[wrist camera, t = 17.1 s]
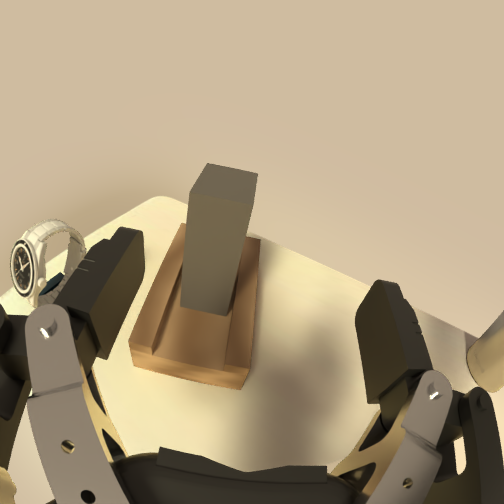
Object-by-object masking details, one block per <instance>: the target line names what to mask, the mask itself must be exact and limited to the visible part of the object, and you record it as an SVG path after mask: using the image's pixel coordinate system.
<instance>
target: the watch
mask: <svg viewBox="0 0 504 504" xmlns="http://www.w3.org/2000/svg"><path fill="white" fill-rule="evenodd" d="M64 231H66V232H69V234H70V236H71V237H70V243H69V245H68V255H67V260H66V265H65V269H64V273H65V276H64V275H63V274H62V273H61V272H60V273H58V274H57V275H56V276H54V277H53V278H52V279H50V280H49V281H48V282H46V280H45V278H46V268H45V259H44V255H45V251H46V247H47V244H46V243H45V242H44V241H45V240H47V239H48V238H49V236H50V237H51V236H52V235H54V234H56V233H59V232H64ZM86 250H87V249H86V248H85V244H84V240H83V238H82V236H81V235H80V233H79V232H78V231H76V230H75V229H73V228H72V227H70V226H69V225H67V224H66V223H64V222H63V221H60V220H57V219H48V220H45V221H41V222H39V223H38V224H37V225H34V226H33V227H32V228H30V229H29V230H27V231H26V232H25V233H24V235H23V236H22V238H21V239H19V240H17V241H16V242H15V244H14V246H13V249H12V252H11V260H10V270H11V276H12V281H13V284H14V287H15V289H16V291H17V292H18V294H19V295H20V296H21V297H23V298H26V299H27V301H28V302H29V303H30V304H31V305H32V306H33V307H34V308H38V307H40V306H42V305H46V304H52V303H53V302H54V301H55V299H56V297H57V296H58V294H59V293H60V291H61V290H62V288H63V287H64V285H65V284H66V282H67V281H68V279H69V278H70V276H71V275H72V273H73V272H74V271H75V269H77V266H78V265H79V264H80V262H81V261H82V260H84V257H85V255H86Z"/></svg>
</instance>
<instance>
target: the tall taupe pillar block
mask: <svg viewBox="0 0 504 504" xmlns="http://www.w3.org/2000/svg"><path fill="white" fill-rule="evenodd" d="M257 176H258V174H257V173H253V172H248V171H243V170H239V169H234V168H229V167H225V166H220V165H215V164H209V163H207V165H206V166H205V168H204V169H203V171H202V173H201V174H200V176H199V178H198V179H197V181H196V182H195V184H194V186H193V187H192V189H191V191H190V194H189V203H188V212H187V221H186V232H185V242H184V254H183V267H182V281H181V297H180V307H184V308H189V309H193V310H198V311H202V312H207V313H211V314H216V315H221V316H227V312H228V308H229V303H230V299H231V295H232V291H233V287H234V282H235V278H236V274H237V270H238V266H239V262H240V258H241V253H242V249H243V245H244V241H245V237H246V233H247V229H248V225H249V220H250V217H251V212H252V209H253V204H254V197H255V190H256V183H257Z"/></svg>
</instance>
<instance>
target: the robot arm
mask: <svg viewBox="0 0 504 504" xmlns="http://www.w3.org/2000/svg"><path fill="white" fill-rule="evenodd" d="M144 272H145V258H144V238H143V232H142V231H140V230H136V229H131V228H126V227H119V228H118V229H117V231H116V232H115V234H114V235H113V236H112V238H111V239H110V240H108V239H103V240H101V241H100V242H98V243H97V244H95V245H94V246H92V247H91V248H90V250H89V251H88V253H87V254H86V255H85V257H84V260H82V261H81V262H80V264H79V265H78V266H77V269H75V271H74V272H73V273H72V275H71V276H70V278H69V279H68V281H67V282H66V284H65V285H64V287H63V288H62V290H61V291H60V293H59V294H58V296H57V297H56V299H55V301H54V302H53V303H52V304H46V305H42V306H40V307H38V308H36V309H35V310H34V311H33V312H31V314H30V315H29V316H25V315H7V314H6V312H5V310H4V308H3V307H2V305H1V304H0V504H15V501H14V495H15V494H16V486H15V484H14V482H12V479H11V477H10V475H9V474H8V472H7V470H8V465H9V461H10V457H11V452H12V448H13V445H14V441H15V437H16V434H17V430H18V427H19V424H20V420H21V417H22V414H23V411H24V408H25V405H26V402H27V409H28V415H29V419H30V423H31V427H32V432H33V435H34V439H35V443H36V446H37V450H38V453H39V456H40V459H41V462H42V465H43V468H44V471H45V474H46V477H47V480H48V482H49V485H50V487H51V490H52V492H53V495H54V497H55V499H54V500H52V501H50V502H48V503H46V504H504V465H503V457H502V449H501V443H500V437H499V431H498V426H497V421H496V417H495V412H494V407H493V403H492V400H491V397H490V396H489V394H488V393H487V391H488V392H492V393H493V392H497V391H498V390H499V389H501V388H502V387H503V386H504V311H503V312H502V313H501V315H500V316H499V317H498V318H497V319H496V320H495V322H494V323H493V324H492V325H491V326H490V327H489V329H488V330H487V331H486V332H485V333H484V334H483V335H482V336H481V337H480V338H479V339H478V340H477V341H476V342H475V343H474V344H473V345H472V346H471V347H470V349H469V350H468V354H467V361H468V366H469V369H470V372H471V374H472V376H473V378H474V379H475V381H476V382H477V383H478V385H479V386H480V387H475V388H473V389H472V390H471V391H469V392H468V393H467V394H464V393H461V392H458V391H455V390H452V387H451V385H450V383H449V381H448V379H447V378H446V377H445V376H444V375H443V374H442V373H440V372H438V371H435V370H433V367H432V363H431V360H430V356H429V353H428V350H427V347H426V344H425V340H424V337H423V335H421V333H422V331H421V328H420V326H419V325H418V320H417V317H416V314H415V312H414V310H413V308H412V307H411V306H410V304H409V303H408V301H407V300H406V299H404V298H403V295H402V292H401V290H400V287H399V285H398V284H397V283H394V282H389V281H384V280H376V281H375V282H374V284H373V285H372V287H371V288H370V290H369V292H368V293H367V295H366V296H365V298H364V300H363V301H362V303H361V304H360V306H359V308H358V310H357V312H356V316H355V327H356V332H357V337H358V343H359V349H360V355H361V361H362V367H363V374H364V380H365V388H366V395H367V403H368V404H380V410H378V411H377V412H376V414H375V415H374V417H373V419H372V421H371V422H370V424H369V425H368V427H367V429H366V430H365V432H364V434H363V435H362V437H361V438H360V440H359V441H358V443H357V444H356V446H355V447H354V449H353V450H352V452H351V453H350V454H349V455H348V456H347V457H346V458H345V459H344V460H342V461H341V462H340V463H339V464H338V465H337V466H336V467H335V468H334V470H333V471H332V472H331V473H330V474H329V473H327V466H284V467H279V468H273V469H267V470H261V471H254V472H242V471H239V470H236V469H233V468H231V467H228V466H225V465H223V464H220V463H218V462H215V461H213V460H210V459H208V458H206V457H203V456H199V455H194V454H189V453H184V452H180V451H175V450H171V449H167V448H163V447H160V448H159V453H141V454H136V455H132V456H128V454H127V452H126V450H125V448H124V445H123V443H122V441H121V439H120V437H119V435H118V433H117V431H116V429H115V427H114V425H113V423H112V421H111V419H110V417H109V414H108V411H107V409H106V406H105V403H104V401H103V398H102V395H101V392H100V389H99V386H98V383H97V380H96V377H95V373H94V370H93V367H92V366H93V363H94V361H95V359H96V357H99V358H102V359H105V360H107V359H108V357H109V354H110V352H111V349H112V347H113V345H114V342H115V340H116V338H117V335H118V333H119V331H120V329H121V326H122V324H123V322H124V320H125V317H126V315H127V313H128V311H129V309H130V306H131V304H132V302H133V300H134V298H135V296H136V294H137V292H138V290H139V287H140V285H141V283H142V281H143V277H144ZM31 388H32V391H33V392H32V396H29V394H30V391H31ZM462 436H463V439H464V446H465V454H466V467H465V470H464V471H463V473H461V474H460V475H458V474H457V470H456V459H455V450H454V441H455V440H457V439H459V438H460V437H462Z"/></svg>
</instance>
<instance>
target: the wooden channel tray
mask: <svg viewBox="0 0 504 504" xmlns="http://www.w3.org/2000/svg"><path fill="white" fill-rule="evenodd" d="M185 232H186V224H185V223H181V225H180V227H179V229H178V231H177V233H176V235H175V237H174V239H173V241H172V243H171V246H170V248H169V250H168V252H167V254H166V256H165V258H164V260H163V262H162V264H161V267H160V269H159V271H158V273H157V275H156V277H155V280H154V282H153V284H152V286H151V289H150V291H149V293H148V295H147V298H146V300H145V302H144V304H143V307H142V309H141V311H140V314H139V316H138V319H137V321H136V323H135V326H134V328H133V331H132V333H131V336H130V338H129V341H128V342H129V347H130V352H131V356H132V360H133V364H134V366H136V367H139V368H143V369H146V370H150V371H154V372H158V373H161V374H165V375H169V376H174V377H178V378H182V379H186V380H191V381H196V382H200V383H205V384H210V385H215V386H221V387H226V388H232V389H238V390H241V388H242V385H243V383H244V381H245V379H246V377H247V374H248V372H249V370H250V362H251V351H252V339H253V327H254V315H255V302H256V290H257V278H258V265H259V252H260V239H256V238H251V237H245V241H244V245H243V249H242V253H241V258H240V262H239V266H238V270H237V274H236V278H235V282H234V287H233V291H232V295H231V299H230V303H229V308H228V312H227V316H221V315H216V314H211V313H207V312H202V311H198V310H193V309H189V308H184V307H180V297H181V281H182V267H183V254H184V242H185Z"/></svg>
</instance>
